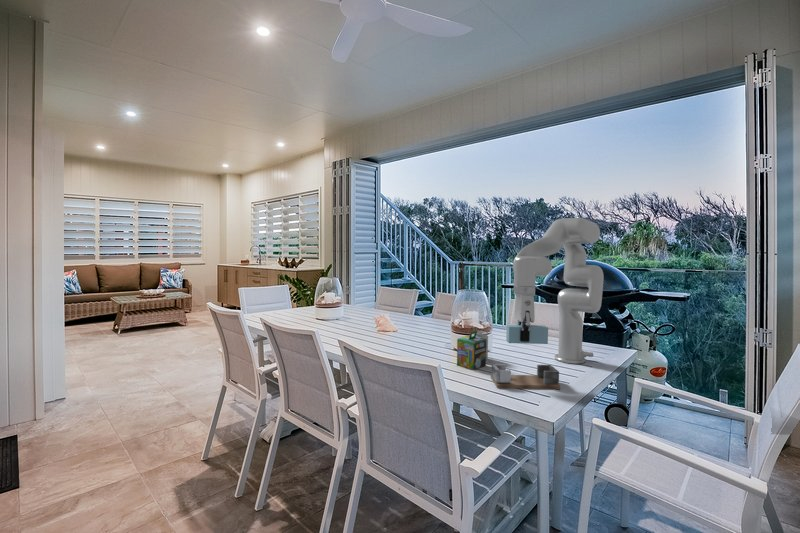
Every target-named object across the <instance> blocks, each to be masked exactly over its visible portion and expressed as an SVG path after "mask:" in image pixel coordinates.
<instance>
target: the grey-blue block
mask: <svg viewBox="0 0 800 533" xmlns="http://www.w3.org/2000/svg"><path fill="white" fill-rule="evenodd" d="M523 326H524V325H523ZM520 330H521V325H517V324H506V339H505V340H506V342H507V343H508V344H531V345H533V344H534V345H549V342H548V341H549V327H548V326H546V325H539V324H538V325H536V324H533V325H531V324H530V335H529V342H521V341H520Z"/></svg>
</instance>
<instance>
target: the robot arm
mask: <svg viewBox="0 0 800 533" xmlns="http://www.w3.org/2000/svg"><path fill="white" fill-rule="evenodd" d="M600 237H601V230H600V227H599V225H598V224H597V223H596V222H594V221H591V220H589V219H586V218H582V217H566V218H563V217H562V218H558V219H556V220H554V221H553V222H552V223H551V224H550V226H549V227H548V228H547V230H546V231H545V233H544V234H543V236H542V237H541V238H538V239H537V240H535V241H533V242H530V243H529V244H526V245H525V246H524V247H523V248H521V249H520V250H519V252H518V253H517V254H516V256H515V257H514V259H513V262H512V270H513V295H515V303H514V304H515V305H514V317H515V319H516V320H517V321H516V325H521V330H520V341H521V342H529V335H530V325H531V324H532V323H533V324H534V322H535V321H536V320H535V316H536V315H535V299H534V296H535V295H536V277H547V276H548V275H549V274H551V272H552V271H553V270H552V269H553V264H552V261H551V259H549V258H548V256H552V255H554V254H557V253H559V252H560V251H561V250H562V248H563V250H564V255H565V256H564V266H563V267H564V268H563V281H564V283H565V284H566V285H568V286H576V287H586V288H588V289H581V288H579V289H578V288H564V289H561V290H560V291H559V292H558V294H557V305H558V313H559V317H558V318H559V319H558V320H559V324H558V353H557V354H555V355H554V359H555V360H556V361H558V362H561V363H565V364H574V365H575V364H577V365H580V364H584V363H586V358H587V357H589V358H592V357H594V353H593V351H591V352H590V351H586V350H585V351H584V350H583V332H584V331H583V330H584V328H583V327H584V324H583V323H584V322H583V318H582V316H581V315H580V313H579V312H582V313H588V314H595V313H598V312H599V311H600V310H601V307H602V300H603V290H604V277H605V276H604V271H603V269H602V268H601V267H600V266H599V265H597V264H587V263H586V262H587V251H586V250H585V248H584V247H583V246H582V244H595V243H596V242H597V241H598V240H599V239H600ZM523 325H524V326H523Z"/></svg>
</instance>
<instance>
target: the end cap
mask: <svg viewBox="0 0 800 533" xmlns="http://www.w3.org/2000/svg"><path fill="white" fill-rule="evenodd" d="M511 372H512V371H511V370H510V369H507V364H505V363H501V364H500V363H492V364H491V375H492V376H493V378H494V379H495V381H496V383H511V375H512V373H511Z"/></svg>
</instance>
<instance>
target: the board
mask: <svg viewBox="0 0 800 533" xmlns="http://www.w3.org/2000/svg"><path fill="white" fill-rule="evenodd" d="M490 379H491V381H492V382H493V384H494V386H495V387H496V388H497V389H530V390H531V389H532V390H533V389H537V390H538V389H539V390H541V389H542V390H560V389H561V385H560V384H559V383H560V371H559V370H558V369H556V368H555V367H554V366H553V365H552V364H537V365H536V374H535V375H532V374H531V375H530V374H511V383H496V381H495V379H494V378H493V376H492V374H490Z"/></svg>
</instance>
